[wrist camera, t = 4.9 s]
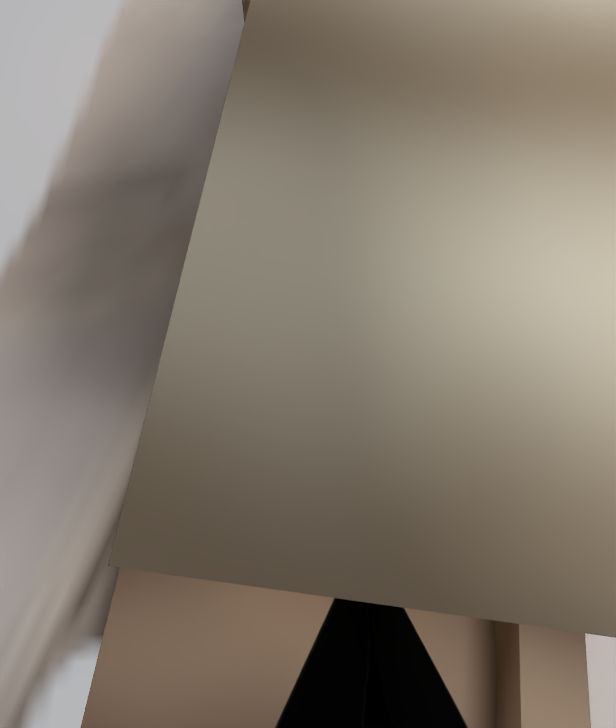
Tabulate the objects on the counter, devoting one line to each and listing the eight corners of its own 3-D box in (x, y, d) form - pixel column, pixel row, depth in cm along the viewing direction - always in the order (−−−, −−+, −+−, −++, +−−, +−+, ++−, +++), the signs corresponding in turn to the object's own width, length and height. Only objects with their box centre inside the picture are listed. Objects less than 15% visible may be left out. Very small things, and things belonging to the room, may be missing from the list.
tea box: (459, 586, 13) (747, 661, 4) (232, 555, 13) (101, 570, 5) (465, 189, 17) (614, -142, 9) (297, 172, 18) (289, -167, 9)
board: (547, 851, 13) (699, 1045, 8) (94, 779, 13) (-33, 917, 8) (520, 103, 22) (583, -25, 17) (254, 78, 22) (239, -54, 17)
